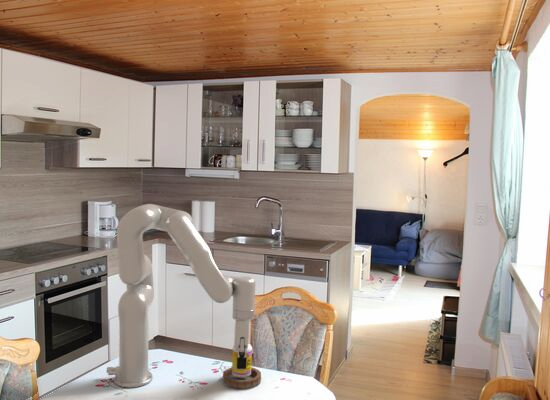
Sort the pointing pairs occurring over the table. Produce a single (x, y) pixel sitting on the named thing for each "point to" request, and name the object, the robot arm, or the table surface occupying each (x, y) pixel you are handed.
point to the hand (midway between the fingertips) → (241, 363)
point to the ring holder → (242, 379)
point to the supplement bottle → (247, 371)
